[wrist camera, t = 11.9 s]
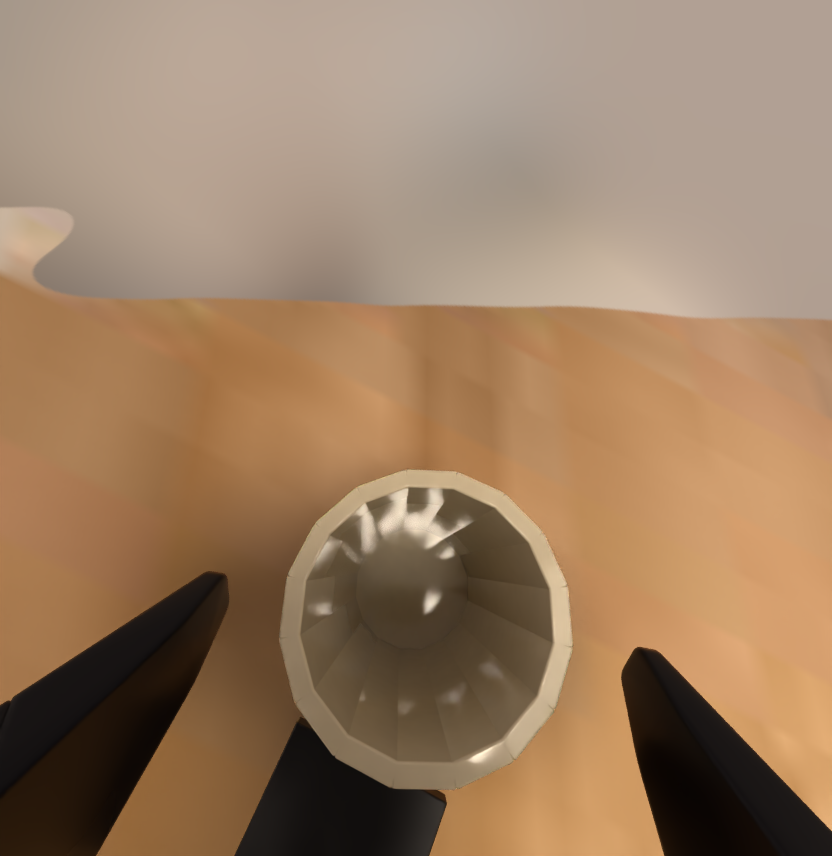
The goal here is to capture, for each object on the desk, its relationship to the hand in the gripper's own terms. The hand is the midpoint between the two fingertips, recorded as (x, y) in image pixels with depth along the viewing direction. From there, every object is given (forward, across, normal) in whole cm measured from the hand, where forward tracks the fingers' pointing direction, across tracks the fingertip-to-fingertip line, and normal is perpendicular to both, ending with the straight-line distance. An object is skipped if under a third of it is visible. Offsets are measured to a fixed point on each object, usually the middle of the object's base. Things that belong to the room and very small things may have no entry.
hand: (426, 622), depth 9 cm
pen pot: (+9, 0, +8) cm, 12 cm away
